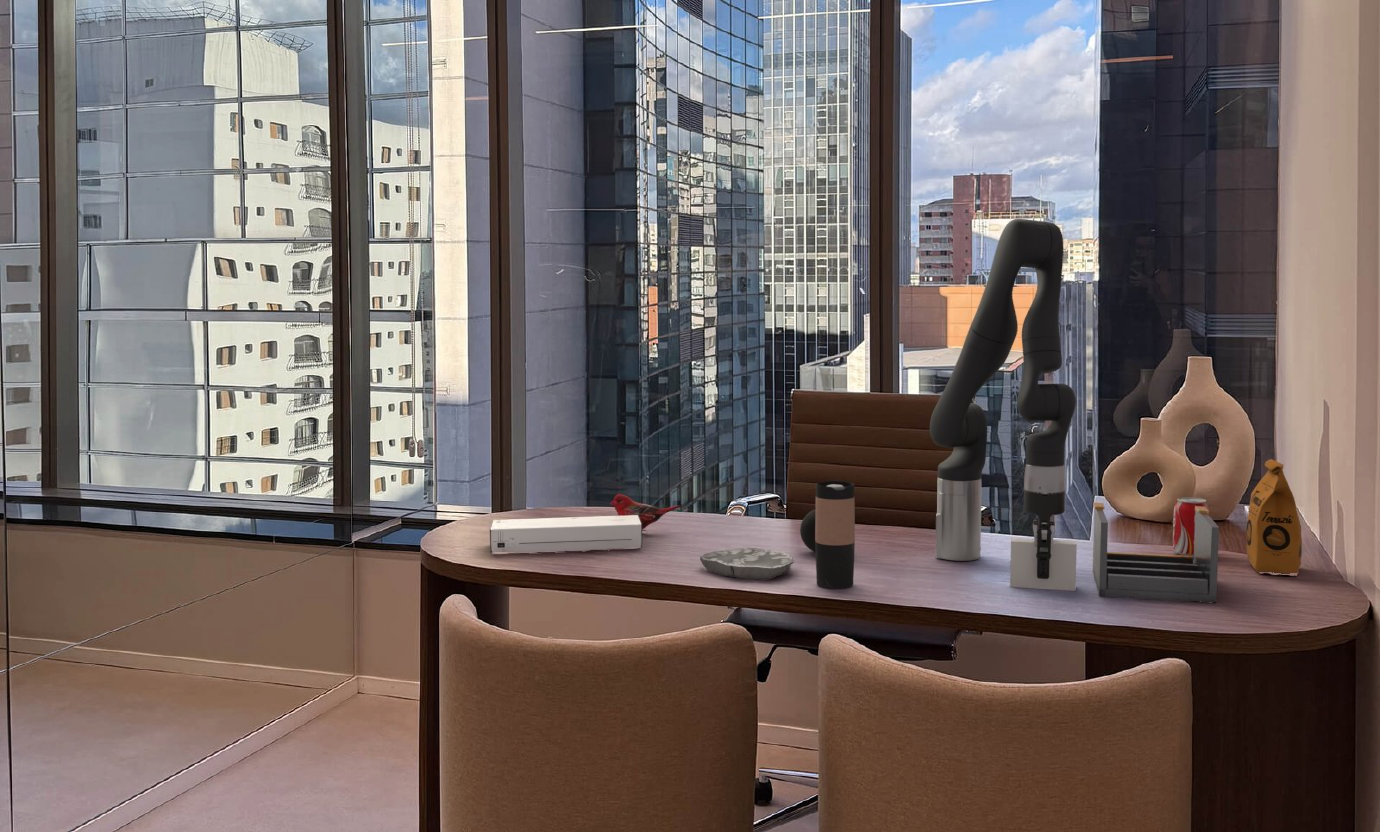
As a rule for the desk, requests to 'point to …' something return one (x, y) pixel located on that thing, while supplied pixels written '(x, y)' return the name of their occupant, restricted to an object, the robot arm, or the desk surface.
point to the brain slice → (748, 563)
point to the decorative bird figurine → (639, 510)
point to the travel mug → (835, 534)
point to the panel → (1059, 565)
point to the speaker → (809, 530)
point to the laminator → (565, 533)
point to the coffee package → (1273, 525)
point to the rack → (1158, 566)
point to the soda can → (1185, 524)
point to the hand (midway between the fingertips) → (1042, 574)
